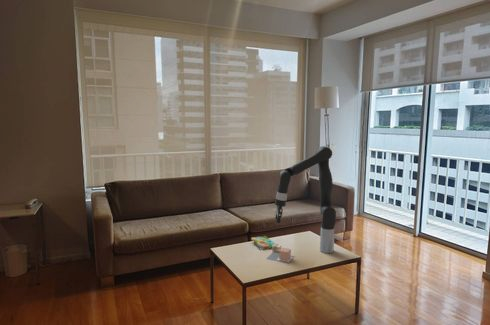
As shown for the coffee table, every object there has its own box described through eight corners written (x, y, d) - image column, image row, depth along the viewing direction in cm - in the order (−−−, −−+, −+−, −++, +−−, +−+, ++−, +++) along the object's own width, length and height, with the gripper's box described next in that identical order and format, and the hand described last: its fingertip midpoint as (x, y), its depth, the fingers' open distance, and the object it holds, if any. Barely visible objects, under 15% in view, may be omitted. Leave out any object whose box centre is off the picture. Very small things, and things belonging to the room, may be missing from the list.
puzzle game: (262, 245, 231) (251, 236, 249) (262, 252, 232) (251, 242, 250) (277, 243, 235) (265, 234, 254) (276, 249, 236) (265, 240, 254)
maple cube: (281, 251, 232) (281, 245, 231) (278, 254, 228) (278, 247, 227) (274, 250, 234) (274, 243, 234) (272, 252, 230) (272, 246, 229)
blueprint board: (295, 258, 220) (295, 256, 220) (288, 265, 209) (288, 263, 209) (273, 254, 227) (273, 251, 227) (265, 261, 216) (265, 258, 216)
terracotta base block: (290, 257, 218) (290, 249, 217) (287, 261, 213) (287, 252, 212) (282, 256, 221) (282, 247, 220) (279, 259, 215) (279, 250, 214)
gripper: (287, 201, 221) (284, 224, 223) (285, 197, 235) (281, 218, 237) (277, 200, 221) (273, 223, 223) (274, 195, 235) (271, 217, 237)
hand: (277, 220), depth 230 cm, fingers open, 8 cm apart
